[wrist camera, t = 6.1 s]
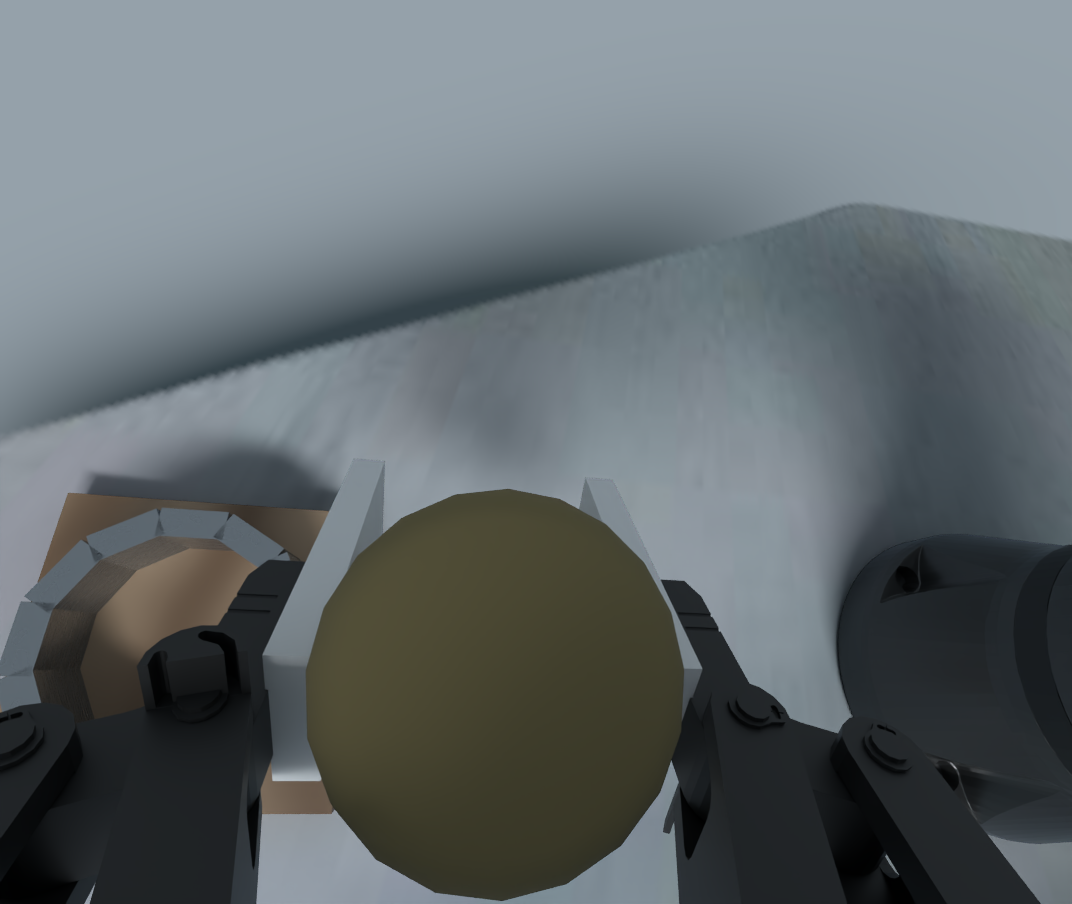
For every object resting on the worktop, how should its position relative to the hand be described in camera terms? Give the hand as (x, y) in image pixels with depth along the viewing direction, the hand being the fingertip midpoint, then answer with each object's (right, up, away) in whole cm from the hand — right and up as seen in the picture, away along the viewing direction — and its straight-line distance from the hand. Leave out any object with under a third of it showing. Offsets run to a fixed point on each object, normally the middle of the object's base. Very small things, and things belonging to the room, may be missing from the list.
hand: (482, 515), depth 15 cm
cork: (-1, -5, +2) cm, 5 cm away
